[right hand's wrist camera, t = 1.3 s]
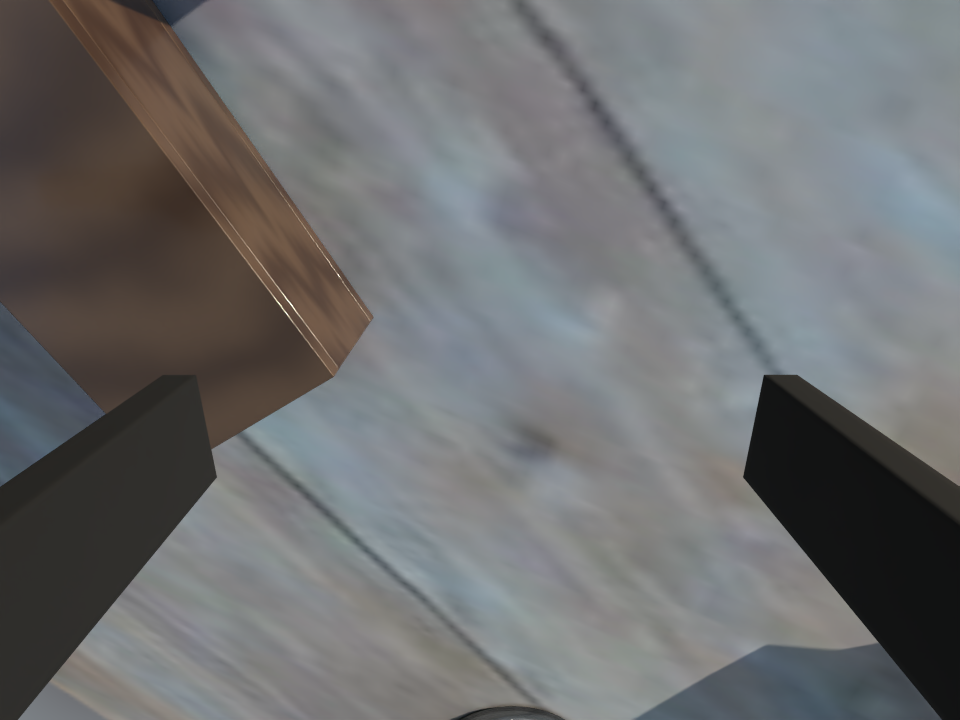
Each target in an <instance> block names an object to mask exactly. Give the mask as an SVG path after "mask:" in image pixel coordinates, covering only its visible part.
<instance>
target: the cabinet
mask: <svg viewBox="0 0 960 720" xmlns="http://www.w3.org/2000/svg"><path fill="white" fill-rule="evenodd" d="M0 302H1V303H2V304H3V305H4V306H5V307H6V308H7V309H8V310H9V311H10V313H11V314H12V315H13V316H14V317H15V318H16V319H17V320H18V321H19V322H20V323H21V324H22V325H23V326H24V327H25V328H26V330H27V331H28V332H29V333H30V334H31V335H32V336H33V337H34V338H35V339H36V340H37V341H38V342H39V343H40V344H41V345H42V347H43V348H44V349H45V350H46V351H47V352H48V353H49V354H50V355H51V356H52V357H53V358H54V359H55V360H56V361H57V362H58V364H59V365H60V366H61V367H62V368H63V369H64V370H65V371H66V372H67V373H68V374H69V375H70V376H71V377H72V378H73V379H74V380H75V382H76V383H77V384H78V385H79V386H80V387H81V388H82V389H83V390H84V391H85V392H86V393H87V394H88V395H89V396H90V397H91V399H92V400H93V401H94V402H95V403H96V404H97V405H98V406H99V407H100V408H101V409H102V410H103V411H104V412H105V413H106V414H107V413H108V412H110V411H111V410H113V409H114V408H116V407H117V406H118V405H120V404H121V403H123V402H124V401H126V400H127V399H129V398H130V397H132V396H133V395H134V394H136V393H137V392H139V391H140V390H142V389H143V388H145V387H146V386H148V385H149V384H150V383H152V382H153V381H155V380H156V379H158V378H159V377H161V376H162V375H196V377H197V382H198V387H199V392H200V397H201V402H202V407H203V412H204V417H205V422H206V426H207V431H208V436H209V441H210V446H211V449H213V448H214V447H216V446H218V445H220V444H221V443H223V442H225V441H226V440H228V439H230V438H231V437H233V436H235V435H236V434H238V433H240V432H241V431H243V430H245V429H246V428H248V427H250V426H252V425H253V424H255V423H257V422H258V421H260V420H262V419H263V418H265V417H267V416H268V415H270V414H272V413H273V412H275V411H277V410H279V409H280V408H282V407H284V406H285V405H287V404H289V403H290V402H292V401H294V400H295V399H297V398H299V397H300V396H302V395H304V394H306V393H307V392H309V391H311V390H312V389H314V388H316V387H317V386H319V385H321V384H322V383H324V382H326V381H327V380H329V379H331V378H332V377H334V376H335V374H336V373H337V371H338V370H339V368H340V366H341V365H342V363H343V362H344V360H345V359H346V357H347V356H348V354H349V353H350V351H351V350H352V348H353V347H354V345H355V344H356V342H357V341H358V339H359V338H360V336H361V335H362V334H363V332H364V331H365V329H366V328H367V326H368V325H369V323H370V322H371V320H372V319H373V316H372V314H371V313H370V312H369V310H368V309H367V307H366V306H365V304H364V303H363V301H362V300H361V299H360V297H359V296H358V294H357V293H356V291H355V290H354V289H353V287H352V286H351V284H350V283H349V281H348V280H347V279H346V277H345V276H344V274H343V273H342V271H341V270H340V269H339V267H338V266H337V264H336V263H335V261H334V260H333V259H332V257H331V256H330V254H329V253H328V251H327V250H326V249H325V247H324V246H323V244H322V243H321V241H320V240H319V239H318V237H317V236H316V234H315V233H314V231H313V230H312V228H311V227H310V226H309V224H308V223H307V221H306V220H305V218H304V217H303V216H302V214H301V213H300V211H299V210H298V208H297V207H296V206H295V204H294V203H293V201H292V200H291V198H290V197H289V196H288V194H287V193H286V191H285V190H284V188H283V187H282V186H281V184H280V183H279V181H278V180H277V178H276V177H275V176H274V174H273V173H272V171H271V170H270V168H269V167H268V166H267V164H266V163H265V161H264V160H263V158H262V157H261V155H260V154H259V153H258V151H257V150H256V148H255V147H254V145H253V144H252V143H251V141H250V140H249V138H248V137H247V135H246V134H245V133H244V131H243V130H242V128H241V127H240V125H239V124H238V123H237V121H236V120H235V118H234V117H233V115H232V114H231V113H230V111H229V110H228V108H227V107H226V105H225V104H224V103H223V101H222V100H221V98H220V97H219V95H218V94H217V93H216V91H215V90H214V88H213V87H212V85H211V84H210V82H209V81H208V80H207V78H206V77H205V75H204V74H203V72H202V71H201V70H200V68H199V67H198V65H197V64H196V62H195V61H194V60H193V58H192V57H191V55H190V54H189V52H188V51H187V50H186V48H185V47H184V45H183V44H182V42H181V41H180V40H179V38H178V37H177V35H176V34H175V32H174V31H173V30H172V28H171V27H170V25H169V24H168V22H167V21H166V20H165V18H164V17H163V15H162V14H161V12H160V11H159V9H158V8H157V7H156V5H155V4H154V2H153V1H152V0H0Z"/></svg>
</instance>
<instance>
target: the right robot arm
mask: <svg viewBox="0 0 960 720" xmlns="http://www.w3.org/2000/svg"><path fill="white" fill-rule="evenodd" d="M216 478H217V476H216V471H215V466H214V461H213V456H212V451H211V446H210V441H209V436H208V431H207V426H206V422H205V417H204V412H203V407H202V402H201V397H200V392H199V387H198V382H197V377H196V375H162V376H161V377H159V378H158V379H156V380H155V381H153V382H152V383H150V384H149V385H148V386H146V387H145V388H143V389H142V390H140V391H139V392H137V393H136V394H134V395H133V396H132V397H130V398H129V399H127V400H126V401H124V402H123V403H121V404H120V405H118V406H117V407H116V408H114V409H113V410H111V411H110V412H108V413H107V414H105V415H104V416H103V417H101V418H100V419H98V420H97V421H95V422H94V423H92V424H91V425H89V426H88V427H87V428H85V429H84V430H82V431H81V432H79V433H78V434H76V435H75V436H73V437H72V438H71V439H69V440H68V441H66V442H65V443H63V444H62V445H60V446H59V447H57V448H56V449H55V450H53V451H52V452H50V453H49V454H47V455H46V456H44V457H43V458H41V459H40V460H39V461H37V462H36V463H34V464H33V465H31V466H30V467H28V468H27V469H26V470H24V471H23V472H21V473H20V474H18V475H17V476H15V477H14V478H12V479H11V480H10V481H8V482H7V483H5V484H4V485H2V486H1V487H0V720H18V719H19V718H20V716H21V715H22V714H23V713H24V711H25V710H26V709H27V708H28V707H29V705H30V704H31V703H32V702H33V700H34V699H35V698H36V697H37V696H38V694H39V693H40V692H41V691H42V689H43V688H44V687H45V686H46V685H47V683H48V682H49V681H50V680H51V679H52V677H53V676H54V675H55V674H56V672H57V671H58V670H59V669H60V668H61V666H62V665H63V664H64V663H65V662H66V660H67V659H68V658H69V657H70V655H71V654H72V653H73V652H74V651H75V649H76V648H77V647H78V646H79V644H80V643H81V642H82V641H83V640H84V638H85V637H86V636H87V635H88V633H89V632H90V631H91V630H92V629H93V627H94V626H95V625H96V624H97V623H98V621H99V620H100V619H101V618H102V616H103V615H104V614H105V613H106V612H107V610H108V609H109V608H110V607H111V605H112V604H113V603H114V602H115V601H116V599H117V598H118V597H119V596H120V595H121V593H122V592H123V591H124V590H125V588H126V587H127V586H128V585H129V584H130V582H131V581H132V580H133V579H134V577H135V576H136V575H137V574H138V573H139V571H140V570H141V569H142V568H143V566H144V565H145V564H146V563H147V562H148V560H149V559H150V558H151V557H152V556H153V554H154V553H155V552H156V551H157V549H158V548H159V547H160V546H161V545H162V543H163V542H164V541H165V540H166V538H167V537H168V536H169V535H170V534H171V532H172V531H173V530H174V529H175V528H176V526H177V525H178V524H179V523H180V521H181V520H182V519H183V518H184V517H185V515H186V514H187V513H188V512H189V510H190V509H191V508H192V507H193V506H194V504H195V503H196V502H197V501H198V500H199V498H200V497H201V496H202V495H203V493H204V492H205V491H206V490H207V489H208V487H209V486H210V485H211V484H212V482H213V481H214V480H215V479H216ZM743 478H744V479H745V480H746V481H747V482H748V484H749V485H750V486H751V487H752V489H753V490H754V491H755V492H756V493H757V495H758V496H759V497H760V498H761V500H762V501H763V502H764V503H765V504H766V506H767V507H768V508H769V509H770V510H771V512H772V513H773V514H774V515H775V517H776V518H777V519H778V520H779V521H780V523H781V524H782V525H783V526H784V528H785V529H786V530H787V531H788V532H789V534H790V535H791V536H792V537H793V538H794V540H795V541H796V542H797V543H798V545H799V546H800V547H801V548H802V549H803V551H804V552H805V553H806V554H807V556H808V557H809V558H810V559H811V560H812V562H813V563H814V564H815V565H816V566H817V568H818V569H819V570H820V571H821V573H822V574H823V575H824V576H825V577H826V579H827V580H828V581H829V582H830V584H831V585H832V586H833V587H834V588H835V590H836V591H837V592H838V593H839V595H840V596H841V597H842V598H843V599H844V601H845V602H846V603H847V604H848V605H849V607H850V608H851V609H852V610H853V612H854V613H855V614H856V615H857V616H858V618H859V619H860V620H861V621H862V623H863V624H864V625H865V626H866V627H867V629H868V630H869V631H870V632H871V633H872V635H873V636H874V637H875V638H876V640H877V641H878V642H879V643H880V644H881V646H882V647H883V648H884V649H885V651H886V652H887V653H888V654H889V655H890V657H891V658H892V659H893V660H894V662H895V663H896V664H897V665H898V666H899V668H900V669H901V670H902V671H903V672H904V674H905V675H906V676H907V677H908V679H909V680H910V681H911V682H912V683H913V685H914V686H915V687H916V688H917V690H918V691H919V692H920V693H921V694H922V696H923V697H924V698H925V699H926V700H927V702H928V703H929V704H930V705H931V707H932V708H933V709H934V710H935V711H936V713H937V714H938V715H939V716H940V718H941V719H942V720H960V486H958V485H956V484H955V483H953V482H952V481H950V480H949V479H948V478H946V477H945V476H943V475H942V474H940V473H939V472H937V471H936V470H934V469H933V468H932V467H930V466H929V465H927V464H926V463H924V462H923V461H921V460H920V459H919V458H917V457H916V456H914V455H913V454H911V453H910V452H908V451H907V450H905V449H904V448H903V447H901V446H900V445H898V444H897V443H895V442H894V441H892V440H891V439H889V438H888V437H887V436H885V435H884V434H882V433H881V432H879V431H878V430H876V429H875V428H873V427H872V426H871V425H869V424H868V423H866V422H865V421H863V420H862V419H860V418H859V417H857V416H856V415H855V414H853V413H852V412H850V411H849V410H847V409H846V408H844V407H843V406H842V405H840V404H839V403H837V402H836V401H834V400H833V399H831V398H830V397H828V396H827V395H826V394H824V393H823V392H821V391H820V390H818V389H817V388H815V387H814V386H812V385H811V384H810V383H808V382H807V381H805V380H804V379H802V378H801V377H799V376H798V375H764V377H763V382H762V387H761V392H760V397H759V402H758V407H757V412H756V417H755V422H754V426H753V431H752V436H751V441H750V446H749V451H748V456H747V461H746V466H745V471H744V476H743ZM461 720H564V719H563V718H561V717H559V716H557V715H554V714H552V713H549V712H546V711H543V710H539V709H534V708H528V707H516V706H512V707H497V708H491V709H487V710H482V711H479V712H476V713H473V714H471V715H468V716H466V717H464V718H462V719H461Z"/></svg>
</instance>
